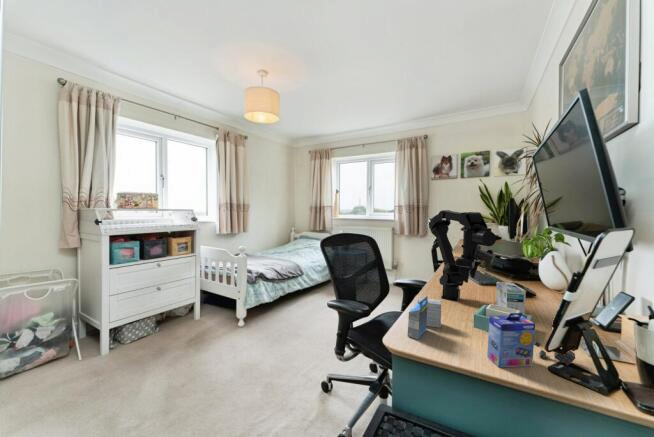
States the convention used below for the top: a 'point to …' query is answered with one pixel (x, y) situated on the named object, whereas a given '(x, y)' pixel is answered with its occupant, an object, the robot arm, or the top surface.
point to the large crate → (487, 319)
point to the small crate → (499, 310)
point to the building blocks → (558, 355)
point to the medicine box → (433, 312)
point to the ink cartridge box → (511, 340)
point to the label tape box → (418, 319)
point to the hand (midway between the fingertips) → (469, 280)
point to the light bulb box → (510, 296)
